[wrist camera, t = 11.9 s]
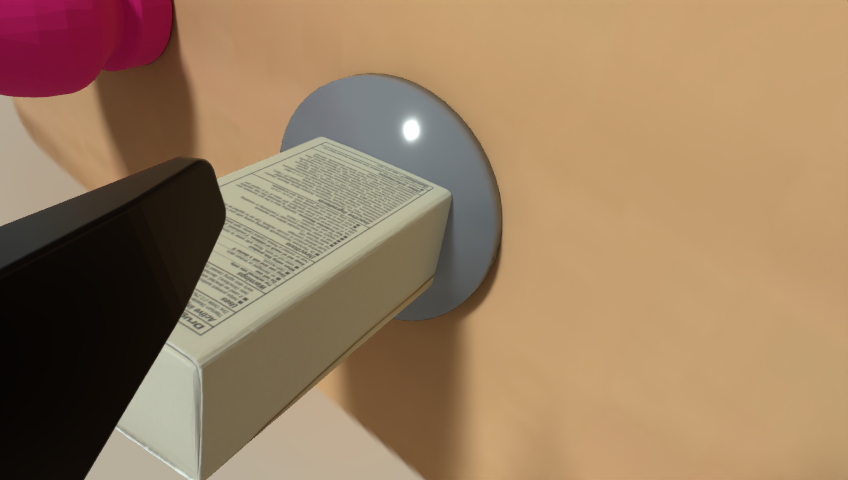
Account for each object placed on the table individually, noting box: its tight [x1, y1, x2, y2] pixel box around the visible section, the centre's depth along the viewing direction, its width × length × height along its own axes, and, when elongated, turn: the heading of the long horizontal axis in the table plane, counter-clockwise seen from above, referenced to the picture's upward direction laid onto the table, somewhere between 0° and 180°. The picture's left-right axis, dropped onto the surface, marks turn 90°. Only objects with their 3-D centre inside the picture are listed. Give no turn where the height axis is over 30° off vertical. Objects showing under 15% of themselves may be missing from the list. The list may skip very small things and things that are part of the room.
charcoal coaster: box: [280, 73, 502, 321], centre depth 27 cm, size 10×10×1 cm
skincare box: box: [115, 137, 452, 480], centre depth 22 cm, size 6×4×12 cm
